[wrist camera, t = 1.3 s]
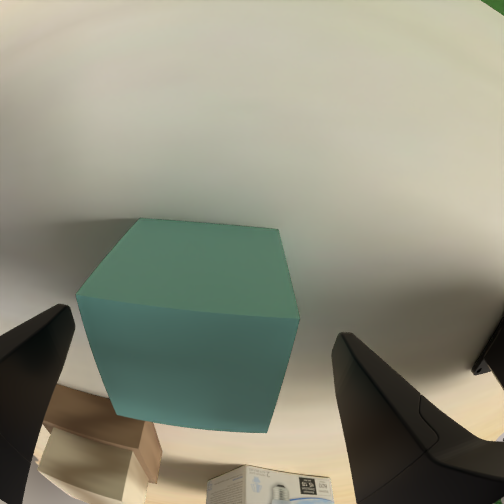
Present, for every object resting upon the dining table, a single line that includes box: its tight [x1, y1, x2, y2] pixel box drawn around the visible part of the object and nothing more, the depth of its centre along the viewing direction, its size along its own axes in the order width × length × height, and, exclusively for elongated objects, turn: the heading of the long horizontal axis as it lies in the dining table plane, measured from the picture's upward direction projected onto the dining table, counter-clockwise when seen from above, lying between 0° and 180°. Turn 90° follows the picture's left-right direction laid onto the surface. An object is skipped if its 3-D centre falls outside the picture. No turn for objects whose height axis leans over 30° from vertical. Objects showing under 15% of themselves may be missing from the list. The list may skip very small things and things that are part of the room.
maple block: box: [37, 427, 149, 504], centre depth 12 cm, size 6×6×4 cm
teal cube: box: [76, 218, 300, 433], centre depth 9 cm, size 5×5×5 cm
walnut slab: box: [42, 384, 162, 484], centre depth 16 cm, size 7×7×4 cm
